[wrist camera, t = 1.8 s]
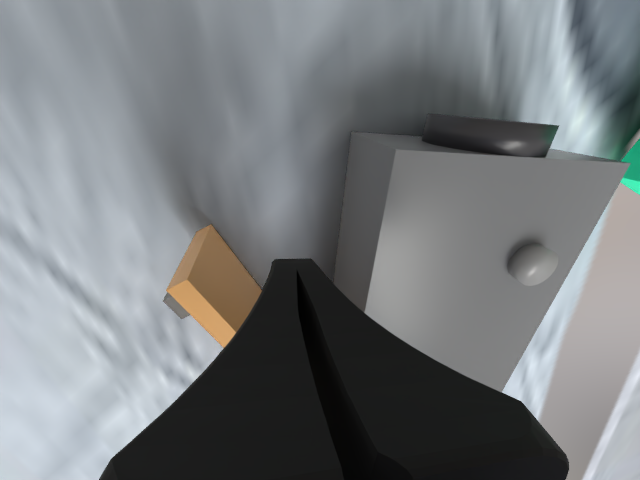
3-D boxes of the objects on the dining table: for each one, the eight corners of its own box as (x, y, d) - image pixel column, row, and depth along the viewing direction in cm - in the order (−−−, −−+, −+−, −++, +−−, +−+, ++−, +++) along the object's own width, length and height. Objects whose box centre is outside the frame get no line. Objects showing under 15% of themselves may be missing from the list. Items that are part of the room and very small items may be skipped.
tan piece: (326, 369, 19) (342, 441, 15) (304, 380, 19) (314, 454, 15) (215, 222, 13) (192, 276, 9) (183, 238, 13) (147, 299, 9)
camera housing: (436, 360, 21) (487, 439, 17) (322, 371, 20) (340, 462, 15) (527, 121, 14) (669, 135, 9) (354, 107, 12) (412, 114, 7)
